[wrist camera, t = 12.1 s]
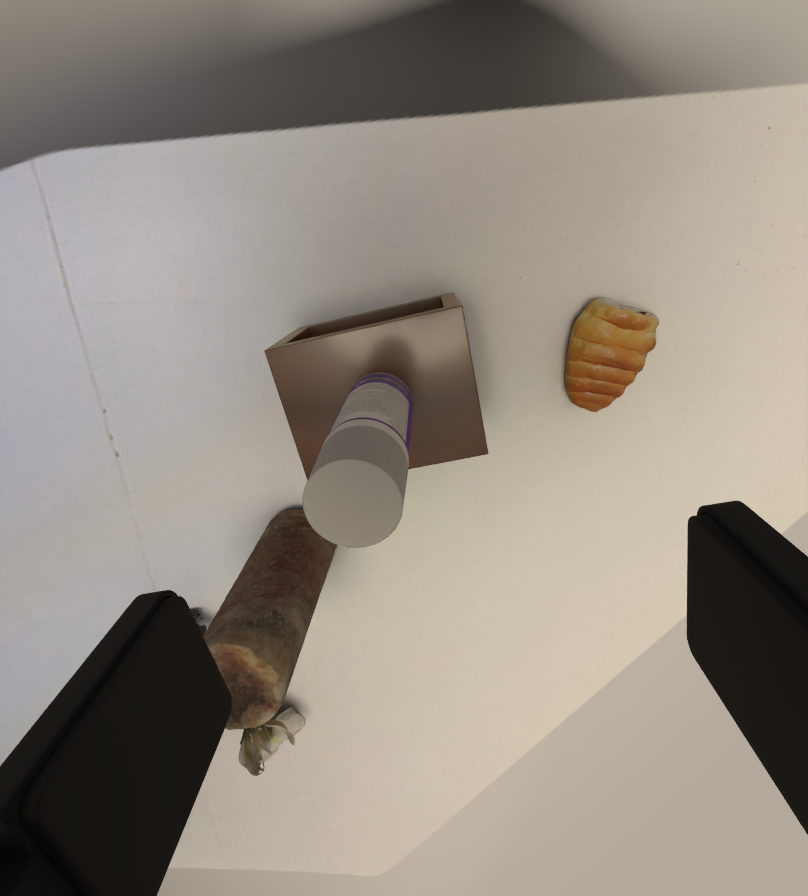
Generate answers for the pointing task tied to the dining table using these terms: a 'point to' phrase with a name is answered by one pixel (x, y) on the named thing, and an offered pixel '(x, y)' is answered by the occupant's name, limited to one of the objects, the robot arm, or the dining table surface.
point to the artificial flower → (265, 734)
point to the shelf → (389, 351)
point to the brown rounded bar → (269, 617)
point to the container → (363, 465)
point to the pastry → (607, 352)
